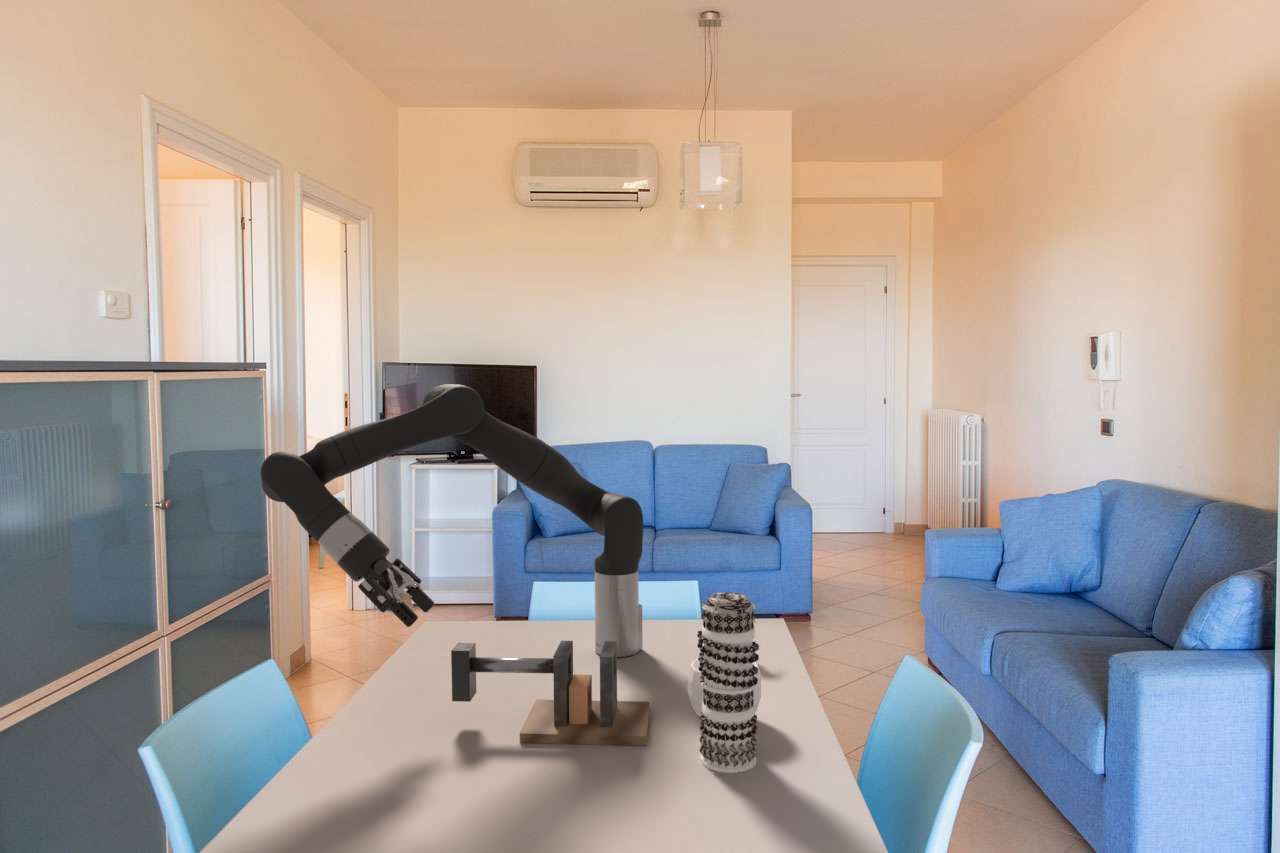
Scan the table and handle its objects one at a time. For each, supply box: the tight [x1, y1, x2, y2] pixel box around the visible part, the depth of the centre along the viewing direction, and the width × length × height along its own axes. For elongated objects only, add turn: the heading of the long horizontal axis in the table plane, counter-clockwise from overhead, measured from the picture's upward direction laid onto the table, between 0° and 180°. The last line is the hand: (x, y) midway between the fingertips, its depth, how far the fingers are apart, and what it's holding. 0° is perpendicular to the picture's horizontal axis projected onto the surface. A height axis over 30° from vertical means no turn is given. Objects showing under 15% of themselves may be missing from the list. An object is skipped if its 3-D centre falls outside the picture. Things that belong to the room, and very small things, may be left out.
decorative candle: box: [696, 591, 760, 774], centre depth 124 cm, size 9×9×25 cm
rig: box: [519, 640, 651, 746], centre depth 137 cm, size 20×14×13 cm
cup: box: [687, 656, 762, 718], centre depth 139 cm, size 12×12×10 cm
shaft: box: [450, 642, 554, 703], centre depth 138 cm, size 18×4×8 cm, turn 86°
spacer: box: [569, 673, 593, 724], centre depth 138 cm, size 3×6×6 cm, turn 177°
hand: (422, 615), depth 138 cm, fingers open, 8 cm apart
